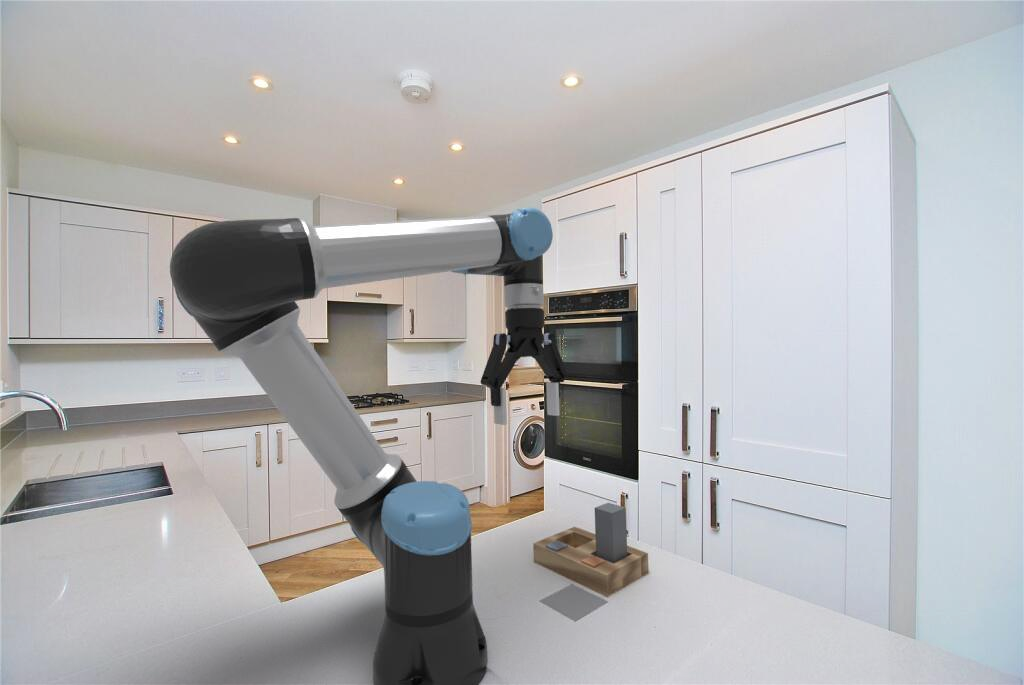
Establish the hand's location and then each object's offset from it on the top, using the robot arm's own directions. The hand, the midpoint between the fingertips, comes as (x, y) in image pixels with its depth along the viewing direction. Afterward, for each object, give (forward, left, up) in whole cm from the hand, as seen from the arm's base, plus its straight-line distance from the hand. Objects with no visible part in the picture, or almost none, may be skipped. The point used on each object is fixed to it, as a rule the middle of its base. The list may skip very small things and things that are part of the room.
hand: (528, 419), depth 89 cm
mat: (-3, -13, -29) cm, 32 cm away
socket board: (+8, -7, -29) cm, 31 cm away
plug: (+9, -12, -28) cm, 32 cm away
